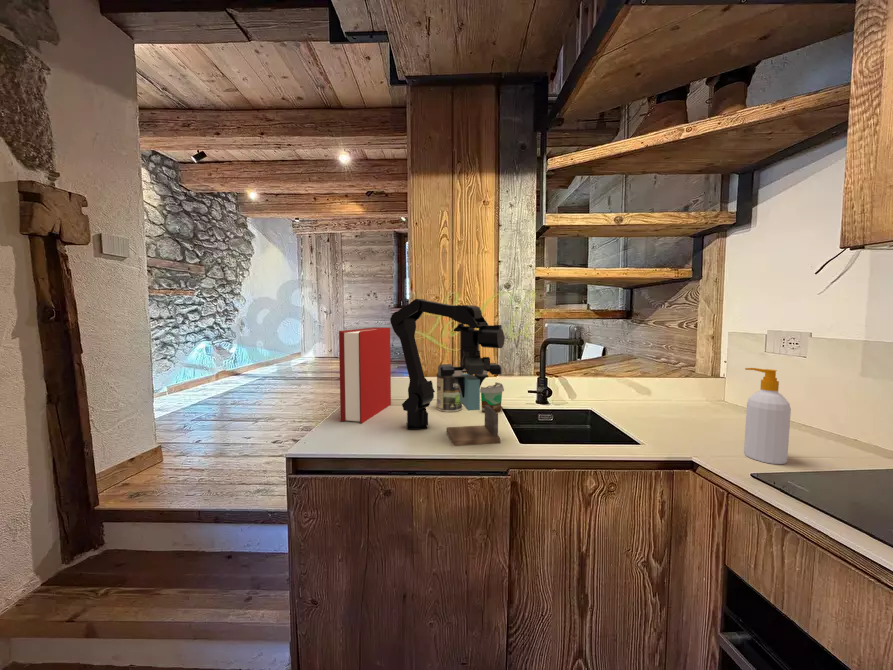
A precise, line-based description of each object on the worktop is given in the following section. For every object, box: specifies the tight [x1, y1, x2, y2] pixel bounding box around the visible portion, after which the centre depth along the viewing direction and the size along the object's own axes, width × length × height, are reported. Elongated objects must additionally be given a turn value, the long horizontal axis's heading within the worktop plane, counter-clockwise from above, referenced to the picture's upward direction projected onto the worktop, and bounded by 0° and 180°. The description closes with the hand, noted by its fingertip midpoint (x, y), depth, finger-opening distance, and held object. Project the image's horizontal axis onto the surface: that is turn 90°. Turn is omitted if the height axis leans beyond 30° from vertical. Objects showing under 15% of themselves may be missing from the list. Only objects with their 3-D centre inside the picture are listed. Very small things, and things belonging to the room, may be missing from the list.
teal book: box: [460, 372, 481, 411], centre depth 109 cm, size 4×11×9 cm, turn 11°
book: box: [338, 327, 392, 424], centre depth 136 cm, size 27×8×32 cm, turn 166°
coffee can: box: [436, 372, 463, 413], centre depth 142 cm, size 10×10×14 cm
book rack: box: [446, 405, 501, 447], centre depth 110 cm, size 14×12×8 cm
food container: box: [480, 382, 505, 414], centre depth 139 cm, size 12×6×10 cm, turn 143°
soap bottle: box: [743, 367, 792, 465], centre depth 94 cm, size 9×9×24 cm
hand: (469, 397), depth 109 cm, fingers closed on teal book, 3 cm apart
